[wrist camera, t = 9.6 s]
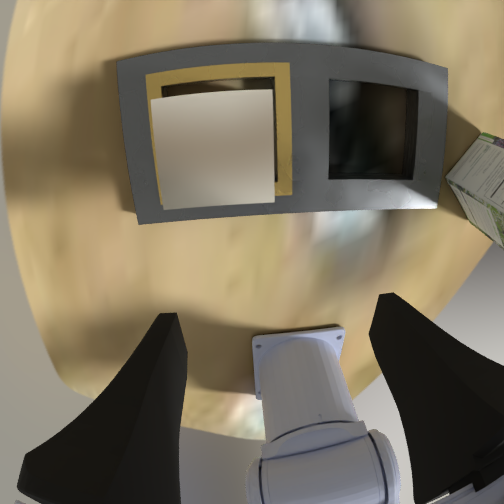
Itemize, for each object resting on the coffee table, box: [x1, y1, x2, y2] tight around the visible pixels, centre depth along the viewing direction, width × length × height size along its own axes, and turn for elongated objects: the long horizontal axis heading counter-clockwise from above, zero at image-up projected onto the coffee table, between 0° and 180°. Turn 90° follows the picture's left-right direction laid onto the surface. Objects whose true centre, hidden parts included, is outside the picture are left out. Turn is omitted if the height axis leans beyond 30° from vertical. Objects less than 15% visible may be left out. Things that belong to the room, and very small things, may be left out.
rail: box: [117, 43, 448, 225], centre depth 16 cm, size 10×20×2 cm, turn 93°
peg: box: [151, 90, 275, 210], centre depth 13 cm, size 4×4×8 cm
